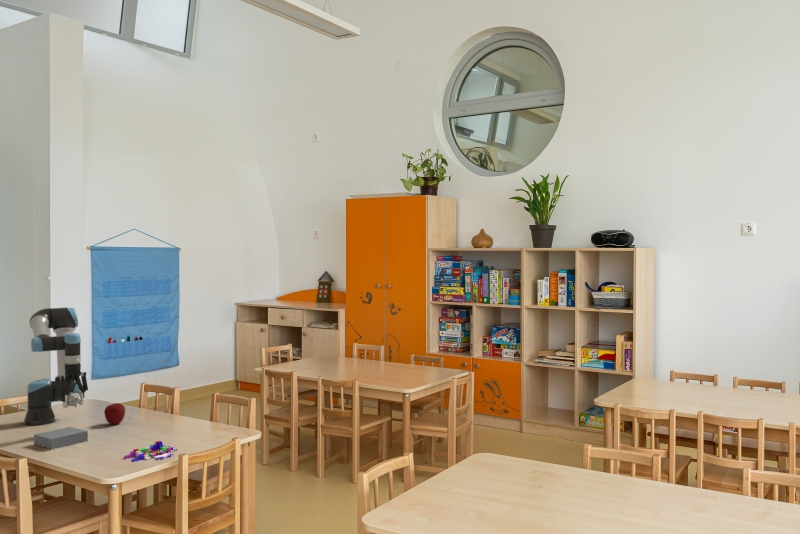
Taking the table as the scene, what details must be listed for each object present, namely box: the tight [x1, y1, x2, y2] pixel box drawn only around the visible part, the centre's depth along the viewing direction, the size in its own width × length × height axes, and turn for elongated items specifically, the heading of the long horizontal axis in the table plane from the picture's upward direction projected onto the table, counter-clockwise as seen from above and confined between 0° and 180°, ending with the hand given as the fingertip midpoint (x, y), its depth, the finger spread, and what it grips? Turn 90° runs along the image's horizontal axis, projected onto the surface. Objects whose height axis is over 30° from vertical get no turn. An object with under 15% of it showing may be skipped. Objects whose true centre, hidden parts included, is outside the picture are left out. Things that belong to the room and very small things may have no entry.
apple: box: [104, 402, 126, 425], centre depth 360 cm, size 11×11×12 cm
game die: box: [67, 391, 81, 408], centre depth 343 cm, size 9×8×10 cm
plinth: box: [33, 426, 89, 450], centre depth 322 cm, size 16×18×5 cm
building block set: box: [123, 440, 175, 463], centre depth 302 cm, size 25×20×4 cm
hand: (73, 406), depth 343 cm, fingers closed on game die, 8 cm apart
